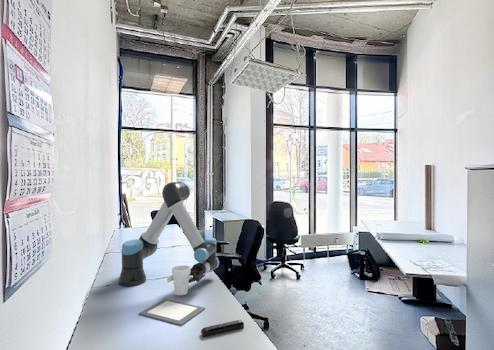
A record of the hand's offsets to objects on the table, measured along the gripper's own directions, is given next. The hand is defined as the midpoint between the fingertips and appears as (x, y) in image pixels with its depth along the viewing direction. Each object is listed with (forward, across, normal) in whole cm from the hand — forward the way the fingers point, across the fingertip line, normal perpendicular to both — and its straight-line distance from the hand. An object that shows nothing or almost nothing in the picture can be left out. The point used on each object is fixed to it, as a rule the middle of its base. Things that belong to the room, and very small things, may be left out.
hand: (176, 281), depth 162 cm
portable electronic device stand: (+18, -38, -9) cm, 43 cm away
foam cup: (-4, 0, -8) cm, 9 cm away
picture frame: (+13, -8, -9) cm, 17 cm away
